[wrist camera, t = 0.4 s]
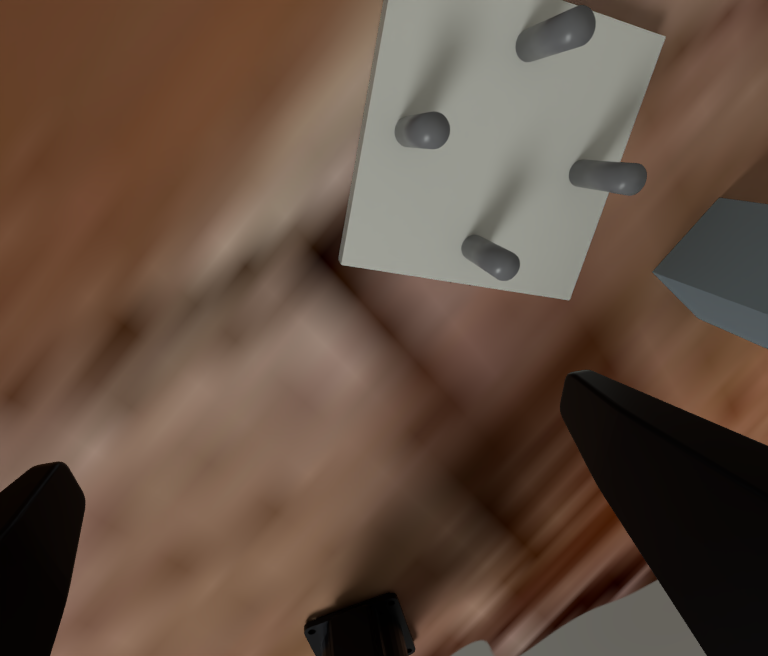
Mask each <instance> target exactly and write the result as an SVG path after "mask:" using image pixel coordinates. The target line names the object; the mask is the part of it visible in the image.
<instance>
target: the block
mask: <svg viewBox="0 0 768 656" xmlns="http://www.w3.org/2000/svg"><path fill="white" fill-rule="evenodd" d="M653 273H654V274H655V275H656V276H657V277H658V278H659V279H660V280H661V281H662V282H663V283H664V284H665V285H666V286H667V287H668V288H669V290H670V291H671V292H672V293H673V294H674V295H675V296H676V297H677V298H678V299H679V300H680V301H681V302H682V303H683V304H684V305H685V306H686V307H687V308H688V309H689V310H690V311H691V312H692V313H693V314H694V315H695V316H696V317H697V318H698V319H701V320H703V321H705V322H707V323H710V324H712V325H714V326H717V327H719V328H721V329H723V330H726V331H728V332H730V333H733V334H735V335H737V336H739V337H742V338H744V339H746V340H748V341H751V342H753V343H755V344H758V345H760V346H762V347H764V348H767V349H768V204H762V203H755V202H748V201H740V200H733V199H726V198H718V199H717V201H716V202H715V203H714V204H713V205H712V206H711V207H710V208H709V209H708V211H707V212H706V213H705V214H704V215H703V216H702V217H701V218H700V219H699V221H698V222H697V223H696V224H695V225H694V226H693V227H692V228H691V229H690V231H689V232H688V233H687V234H686V235H685V236H684V237H683V238H682V239H681V241H680V242H679V243H678V244H677V245H676V246H675V247H674V248H673V249H672V251H671V252H670V253H669V254H668V255H667V256H666V257H665V258H664V259H663V261H662V262H661V263H660V264H659V265H658V266H657V267H656V268H655V269H654V271H653Z"/></svg>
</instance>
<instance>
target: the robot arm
mask: <svg viewBox="0 0 768 656" xmlns="http://www.w3.org/2000/svg"><path fill="white" fill-rule="evenodd" d="M560 412H561V415H562V418H563V420H564V422H565V424H566V426H567V428H568V430H569V432H570V434H571V436H572V438H573V440H574V442H575V443H576V445H577V447H578V449H579V451H580V453H581V455H582V457H583V459H584V461H585V463H586V465H587V467H588V469H589V471H590V473H591V475H592V477H593V478H594V480H595V482H596V484H597V486H598V487H599V489H600V491H601V492H602V494H603V495H604V497H605V499H606V500H607V502H608V503H609V505H610V506H611V508H612V509H613V511H614V512H615V514H616V516H617V517H618V519H619V520H620V522H621V523H622V525H623V526H624V528H625V530H626V531H627V533H628V534H629V536H630V537H631V539H632V540H633V542H634V543H635V545H636V547H637V548H638V550H639V551H640V553H641V554H642V556H643V557H644V559H645V561H646V562H647V564H648V565H649V567H650V568H651V570H652V571H653V573H654V574H655V576H656V578H657V579H658V581H659V582H660V584H661V585H662V587H663V588H664V590H665V591H666V593H667V595H668V596H669V598H670V599H671V601H672V602H673V604H674V605H675V607H676V609H677V610H678V612H679V613H680V615H681V616H682V618H683V619H684V621H685V622H686V624H687V626H688V627H689V629H690V630H691V632H692V633H693V635H694V636H695V638H696V639H697V641H698V643H699V644H700V646H701V647H702V649H703V650H704V652H705V653H706V655H707V656H768V446H767V445H765V444H762V443H760V442H758V441H755V440H753V439H751V438H748V437H746V436H743V435H741V434H739V433H736V432H734V431H732V430H729V429H727V428H725V427H722V426H720V425H718V424H715V423H713V422H711V421H708V420H706V419H704V418H701V417H699V416H697V415H694V414H692V413H690V412H687V411H685V410H683V409H680V408H678V407H676V406H673V405H671V404H669V403H666V402H664V401H662V400H659V399H657V398H655V397H652V396H650V395H647V394H645V393H643V392H640V391H638V390H636V389H633V388H631V387H629V386H626V385H624V384H622V383H619V382H617V381H615V380H612V379H610V378H608V377H605V376H603V375H601V374H598V373H596V372H594V371H591V370H581V371H576V372H571V373H569V374H568V375H567V376H566V378H565V382H564V387H563V392H562V397H561V402H560ZM84 512H85V496H84V493H83V491H82V490H81V488H80V486H79V484H78V483H77V481H76V479H75V477H74V476H73V474H72V472H71V471H70V469H69V467H68V466H67V465H66V464H65V463H63V462H52V463H46V464H41V465H37V466H34V467H32V468H30V469H29V470H28V471H26V472H25V473H24V474H23V475H21V476H20V477H19V478H18V479H16V480H15V481H14V482H13V483H11V484H10V485H9V486H8V487H6V488H5V489H4V490H3V491H1V492H0V656H50V654H51V651H52V648H53V644H54V641H55V638H56V635H57V631H58V628H59V625H60V622H61V618H62V615H63V612H64V608H65V605H66V601H67V597H68V593H69V588H70V584H71V578H72V573H73V568H74V563H75V558H76V553H77V548H78V542H79V537H80V532H81V527H82V522H83V517H84ZM304 634H305V636H306V638H307V640H308V642H309V644H310V646H311V648H312V650H313V652H314V653H315V655H316V656H408V655H411V654H413V653H414V652H415V646H414V642H413V639H412V636H411V634H410V631H409V628H408V625H407V623H406V620H405V617H404V614H403V611H402V609H401V606H400V603H399V600H398V597H397V595H396V594H395V593H387V594H384V595H382V596H379V597H376V598H373V599H371V600H368V601H365V602H362V603H360V604H357V605H354V606H351V607H348V608H346V609H343V610H340V611H337V612H335V613H332V614H329V615H326V616H324V617H321V618H318V619H315V620H312V621H310V622H308V623H306V624H305V626H304Z"/></svg>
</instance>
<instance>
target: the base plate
mask: <svg viewBox="0 0 768 656" xmlns="http://www.w3.org/2000/svg"><path fill="white" fill-rule="evenodd" d="M664 40H665V36H662V35H660V34H657V33H654V32H651V31H648V30H645V29H643V28H640V27H637V26H634V25H631V24H628V23H625V22H623V21H620V20H617V19H614V18H611V17H608V16H606V15H603V14H600V13H597V12H594V11H592V10H591V9H590V8H589V7H587V6H584V5H579V6H577V5H574V4H571V3H569V2H566V1H563V0H383V6H382V12H381V17H380V23H379V29H378V35H377V40H376V46H375V52H374V58H373V63H372V69H371V75H370V80H369V86H368V92H367V98H366V103H365V109H364V115H363V121H362V126H361V132H360V138H359V143H358V149H357V155H356V161H355V166H354V172H353V178H352V183H351V189H350V195H349V201H348V206H347V212H346V218H345V224H344V229H343V235H342V241H341V246H340V252H339V258H338V259H339V261H340V263H341V265H346V266H352V267H358V268H365V269H371V270H378V271H384V272H390V273H397V274H403V275H410V276H416V277H423V278H429V279H435V280H442V281H448V282H455V283H461V284H467V285H474V286H480V287H487V288H493V289H500V290H506V291H512V292H519V293H525V294H532V295H538V296H544V297H551V298H557V299H564V300H570V298H571V295H572V292H573V290H574V287H575V284H576V281H577V279H578V276H579V273H580V271H581V268H582V265H583V262H584V260H585V257H586V254H587V251H588V249H589V246H590V243H591V240H592V238H593V235H594V232H595V229H596V227H597V224H598V221H599V218H600V216H601V213H602V210H603V207H604V205H605V202H606V199H607V196H608V194H609V192H611V193H617V194H623V195H634V194H636V193H638V192H639V191H640V190H641V189H642V188H643V187H644V185H645V182H646V179H647V172H646V169H645V168H644V166H643V165H641V164H638V163H625V162H620V161H621V158H622V155H623V153H624V150H625V147H626V144H627V142H628V139H629V136H630V133H631V131H632V128H633V125H634V122H635V120H636V117H637V114H638V112H639V109H640V106H641V103H642V101H643V98H644V95H645V92H646V90H647V87H648V84H649V81H650V79H651V76H652V73H653V70H654V68H655V65H656V62H657V59H658V57H659V54H660V51H661V48H662V46H663V43H664Z"/></svg>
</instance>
